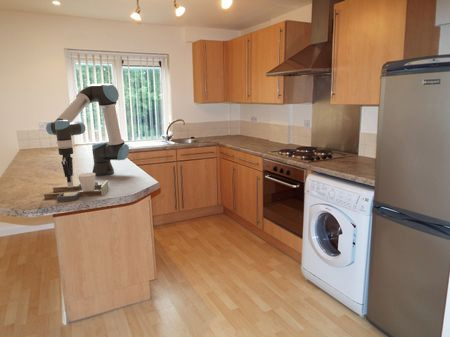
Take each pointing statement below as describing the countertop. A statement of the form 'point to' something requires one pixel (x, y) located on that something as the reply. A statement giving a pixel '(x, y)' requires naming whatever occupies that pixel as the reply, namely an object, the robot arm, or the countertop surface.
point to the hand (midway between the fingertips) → (70, 187)
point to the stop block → (104, 187)
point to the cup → (87, 181)
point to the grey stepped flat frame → (74, 188)
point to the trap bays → (70, 198)
